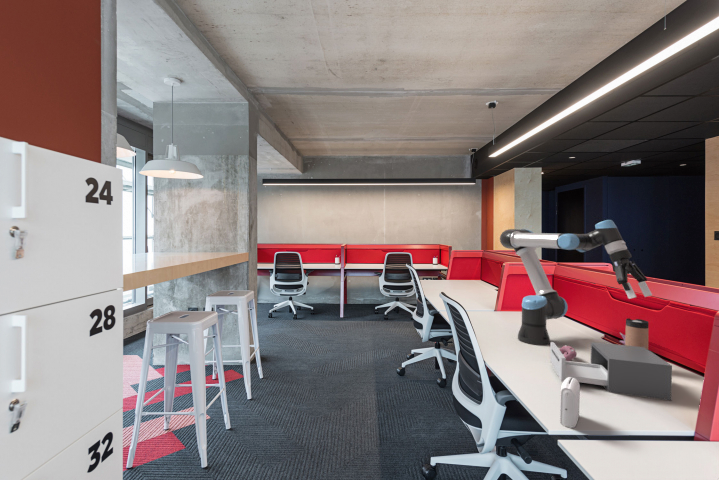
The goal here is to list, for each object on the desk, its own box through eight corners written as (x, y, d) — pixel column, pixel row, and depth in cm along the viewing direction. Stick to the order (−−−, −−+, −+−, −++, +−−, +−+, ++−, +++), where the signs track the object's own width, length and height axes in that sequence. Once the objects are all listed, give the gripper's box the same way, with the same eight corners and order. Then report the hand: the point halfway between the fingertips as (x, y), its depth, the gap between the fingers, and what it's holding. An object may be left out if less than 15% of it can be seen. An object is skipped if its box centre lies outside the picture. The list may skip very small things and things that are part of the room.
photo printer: (575, 430, 96) (576, 387, 96) (558, 424, 99) (559, 383, 98) (580, 415, 104) (581, 376, 104) (564, 410, 107) (565, 372, 106)
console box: (608, 391, 120) (609, 358, 120) (590, 370, 139) (591, 341, 138) (671, 400, 114) (672, 365, 114) (643, 377, 133) (644, 347, 133)
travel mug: (642, 371, 138) (643, 323, 138) (621, 365, 145) (622, 319, 145) (651, 368, 142) (652, 321, 141) (630, 362, 149) (631, 317, 148)
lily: (646, 364, 149) (654, 345, 150) (617, 350, 153) (625, 331, 155) (634, 363, 160) (641, 345, 161) (606, 350, 164) (614, 332, 166)
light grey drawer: (560, 381, 125) (560, 357, 125) (549, 362, 144) (549, 341, 143) (619, 389, 119) (620, 364, 118) (600, 368, 138) (600, 347, 137)
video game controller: (572, 366, 147) (580, 353, 146) (562, 361, 148) (570, 347, 147) (563, 358, 157) (571, 345, 156) (553, 353, 157) (561, 340, 157)
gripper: (611, 248, 145) (635, 296, 137) (640, 249, 156) (664, 293, 148) (594, 255, 151) (616, 301, 143) (623, 255, 162) (645, 297, 154)
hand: (640, 297), depth 145 cm, fingers open, 13 cm apart
